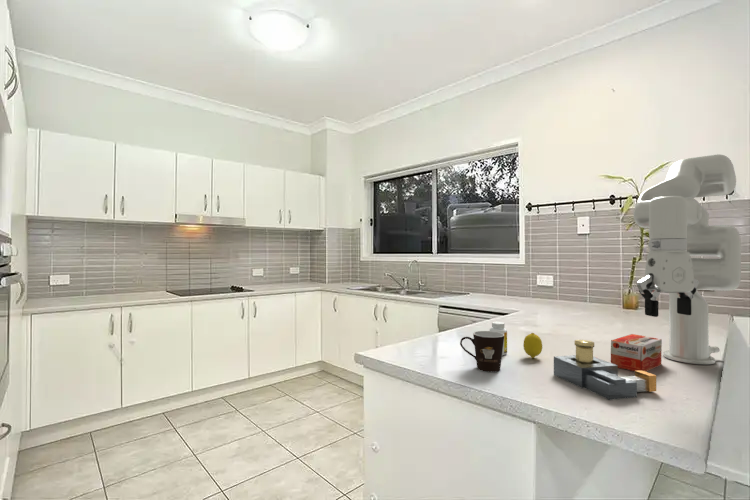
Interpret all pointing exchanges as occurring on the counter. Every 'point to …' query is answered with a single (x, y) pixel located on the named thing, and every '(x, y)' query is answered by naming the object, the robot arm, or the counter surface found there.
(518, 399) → the counter surface
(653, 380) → the lock pin
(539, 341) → the lemon
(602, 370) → the mount
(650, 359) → the medicine box
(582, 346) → the block
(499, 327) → the supplement bottle
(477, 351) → the coffee mug
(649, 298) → the robot arm
